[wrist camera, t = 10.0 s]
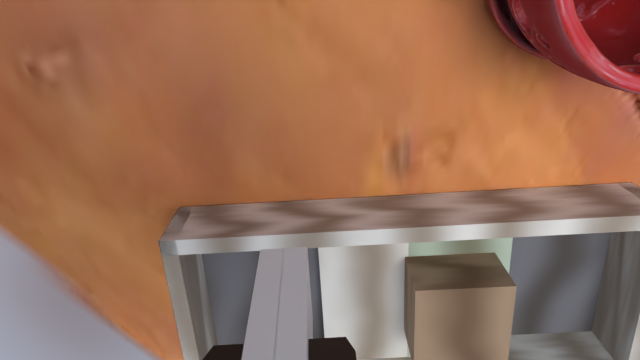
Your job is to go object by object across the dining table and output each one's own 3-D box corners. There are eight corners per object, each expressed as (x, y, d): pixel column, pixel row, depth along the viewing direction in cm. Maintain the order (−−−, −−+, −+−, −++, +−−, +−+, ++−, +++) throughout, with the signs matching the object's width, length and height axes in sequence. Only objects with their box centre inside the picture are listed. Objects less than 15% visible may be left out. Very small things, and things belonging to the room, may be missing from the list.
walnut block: (403, 328, 40) (413, 368, 36) (404, 256, 37) (415, 291, 33) (487, 325, 40) (507, 364, 36) (494, 252, 37) (516, 286, 33)
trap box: (208, 356, 44) (193, 405, 39) (179, 207, 39) (158, 241, 33) (600, 338, 44) (637, 385, 38) (632, 182, 38) (680, 213, 33)
